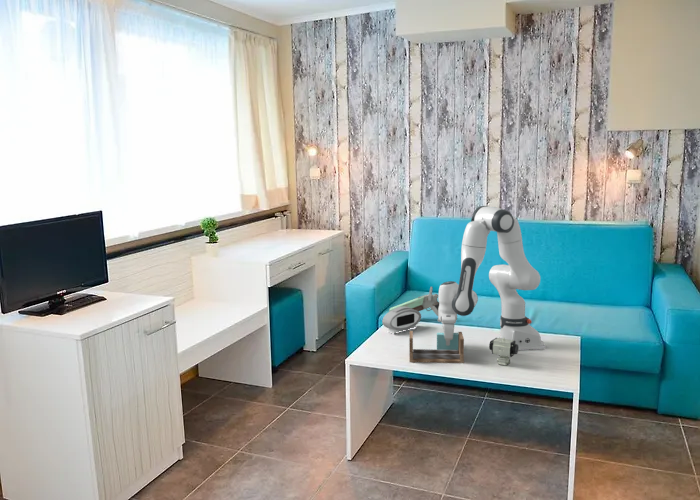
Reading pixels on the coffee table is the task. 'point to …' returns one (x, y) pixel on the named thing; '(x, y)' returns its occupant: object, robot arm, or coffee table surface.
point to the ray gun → (422, 303)
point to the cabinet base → (437, 353)
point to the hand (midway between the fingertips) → (447, 343)
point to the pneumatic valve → (503, 349)
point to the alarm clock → (401, 319)
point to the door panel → (442, 342)
